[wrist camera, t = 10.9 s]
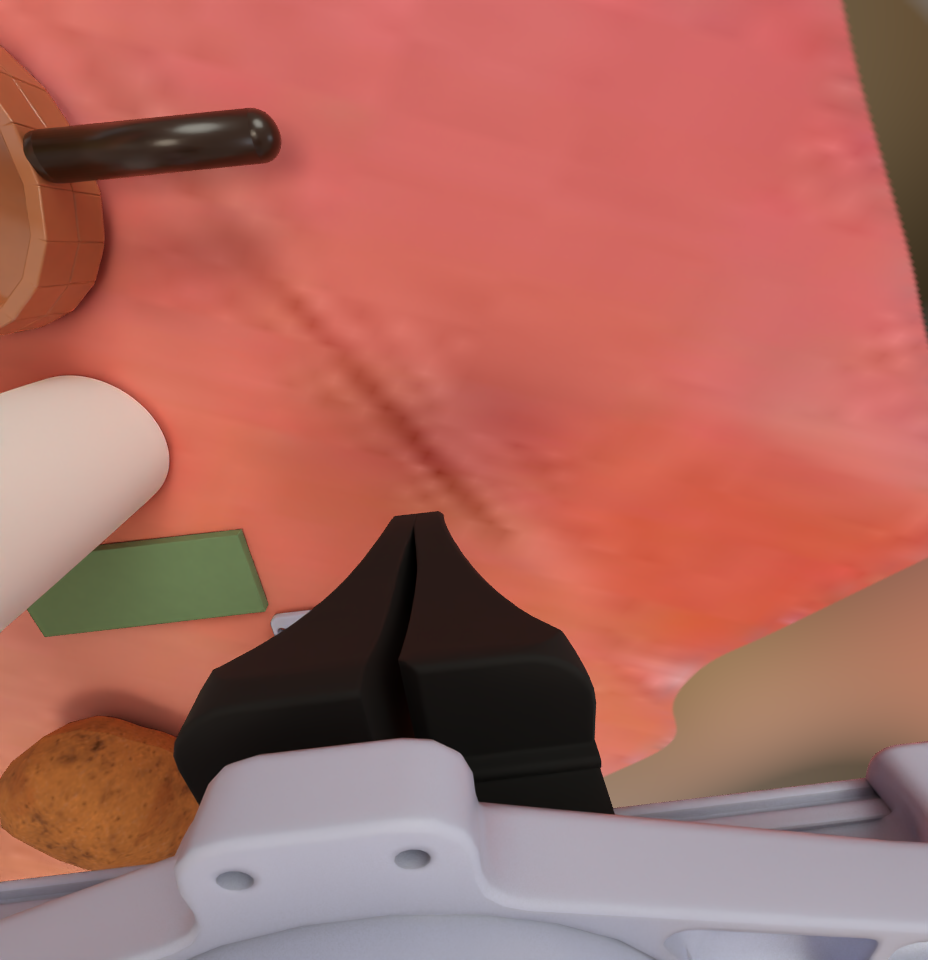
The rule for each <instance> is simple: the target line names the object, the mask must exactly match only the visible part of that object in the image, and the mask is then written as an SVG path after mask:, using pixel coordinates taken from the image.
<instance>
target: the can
mask: <svg viewBox="0 0 928 960" xmlns="http://www.w3.org/2000/svg"><path fill="white" fill-rule="evenodd" d="M168 470H169V451H168V446H167V443H166V440H165V437H164V435H163V433H162V431H161V429H160V427H159V426H158V424H157V422H156V421H155V420H154V418H153V417H152V416H151V415H150V413H149V412H148V411H147V410H146V409H145V408H144V407H143V406H142V405H141V404H140V403H139V402H137V401H136V400H135V399H134V398H132V397H131V396H130V395H128V394H127V393H125V392H123V391H122V390H120V389H118V388H116V387H114V386H112V385H110V384H108V383H105V382H103V381H100V380H96V379H93V378H89V377H83V376H74V375H65V376H56V377H51V378H47V379H44V380H40V381H37V382H34V383H31V384H27V385H24V386H21V387H18V388H15V389H12V390H9V391H6V392H3V393H0V632H1V631H2V630H4V629H5V628H6V627H7V626H8V625H9V624H10V623H12V622H13V621H14V620H15V619H16V618H17V617H18V616H20V615H21V614H22V613H23V612H24V611H25V610H26V609H27V608H29V607H30V606H31V605H32V604H33V603H34V602H35V601H37V600H38V599H39V598H40V597H41V596H42V595H43V594H44V593H46V592H47V591H48V590H49V589H50V588H51V587H52V586H53V585H55V584H56V583H57V582H58V581H59V580H60V579H61V578H62V577H64V576H65V575H66V574H67V573H68V572H69V571H70V570H71V569H73V568H74V567H75V566H76V565H77V564H78V563H79V562H80V561H82V560H83V559H84V558H85V557H86V556H87V555H88V554H89V553H91V552H92V551H93V550H94V549H95V548H96V547H97V546H98V545H99V544H101V543H102V542H103V541H104V540H105V539H106V538H107V537H108V536H110V535H111V534H112V533H113V532H114V531H115V530H116V529H117V528H118V527H120V526H121V525H122V524H123V523H124V522H125V521H126V520H127V519H128V518H130V517H131V516H132V515H133V514H134V513H135V512H136V511H137V510H138V509H139V508H141V507H142V506H143V505H144V504H145V503H146V502H147V501H148V500H149V499H150V498H151V497H152V496H153V495H154V494H156V492H157V491H158V490H159V489H160V488H161V486H162V485H163V483H164V481H165V479H166V477H167V474H168Z"/></svg>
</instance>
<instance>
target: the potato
mask: <svg viewBox="0 0 928 960" xmlns="http://www.w3.org/2000/svg"><path fill="white" fill-rule="evenodd" d="M176 738H177V737H174V736H172V735H170V734H167V733H165V732H162V731H158V730H153V729H149V728H145V727H141V726H138V725H135V724H133V723H130V722H127V721H125V720H122V719H118V718H113V717H109V716H95V717H91V718H87V719H82V720H78V721H74V722H70V723H68V724H66V725H65V726H63V727H61V728H59V729H57V730H55V731H54V732H52V733H50V734H48V735H46V736H44V737H43V738H41V739H40V740H39V741H38V742H36V743H35V744H34V745H33V746H31V747H30V748H29V749H28V750H26V751H25V752H24V753H23V754H21V755H20V756H19V757H18V758H16V759H15V760H14V761H12V762H11V764H10V765H9V766H8V768H7V769H6V771H5V772H4V774H3V775H2V777H1V778H0V821H1V826H2V828H3V829H4V830H6V831H7V832H8V833H9V834H11V835H12V836H13V837H15V838H17V839H19V840H20V841H22V842H24V843H26V844H28V845H30V846H31V847H33V848H35V849H37V850H39V851H41V852H43V853H45V854H47V855H49V856H51V857H53V858H55V859H57V860H60V861H63V862H66V863H69V864H71V865H74V866H77V867H80V868H83V869H87V870H91V871H95V870H104V869H112V868H120V867H129V866H137V865H145V864H153V863H156V862H159V861H162V860H164V859H167V858H170V857H173V856H175V854H176V852H177V850H178V848H179V845H180V843H181V841H182V839H183V837H184V835H185V833H186V832H187V830H188V828H189V826H190V825H191V823H192V822H193V820H194V818H195V815H196V813H197V811H198V808H199V804H198V803H197V801H196V799H195V798H194V796H193V794H192V793H191V791H190V789H189V787H188V786H187V784H186V782H185V781H184V779H183V777H182V775H181V774H180V772H179V770H178V768H177V765H176V762H175V760H174V757H173V753H174V742H175V740H176Z"/></svg>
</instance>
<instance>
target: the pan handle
mask: <svg viewBox="0 0 928 960" xmlns="http://www.w3.org/2000/svg"><path fill="white" fill-rule="evenodd" d="M280 148H281V135H280V132H279V129H278V127H277V125H276V123H275V122H274V120H273V119H272V118H271V117H270V116H269V115H268V114H266V113H265V112H263V111H261V110H259V109H256V108H244V109H234V110H224V111H214V112H204V113H194V114H184V115H174V116H164V117H154V118H144V119H134V120H124V121H114V122H104V123H95V124H85V125H75V126H65V127H55V128H45V129H36V130H32V131H29V132H28V133H26V134H25V135H24V137H23V151H24V154H25V156H26V158H27V160H28V161H29V163H30V164H31V165H32V167H33V168H34V169H35V170H36V172H37V173H38V174H39V175H40V176H41V177H43V178H44V179H45V180H47V181H49V182H53V183H58V184H65V183H75V182H85V181H95V180H105V179H114V178H124V177H134V176H144V175H153V174H163V173H173V172H183V171H193V170H202V169H212V168H222V167H232V166H242V165H251V164H261V163H268V162H270V161H272V160H273V159H275V158H276V157H277V155H278V154H279V151H280Z"/></svg>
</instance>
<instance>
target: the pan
mask: <svg viewBox="0 0 928 960" xmlns="http://www.w3.org/2000/svg"><path fill="white" fill-rule="evenodd" d="M46 91H47V90H46V89H45V88H44V87H43V86H42V85H41V84H40V83H39V82H38V81H37V80H36V79H35V78H34V77H33V76H32V75H31V74H30V73H29V72H28V71H27V70H26V69H25V68H23V67H22V66H21V65H20V64H19V63H18V62H17V61H16V60H15V59H14V58H13V57H12V56H11V55H10V54H9V53H8V52H7V51H6V50H5V49H4V48H3V47H2V46H1V45H0V336H1V335H6V334H11V333H16V332H21V331H26V330H31V329H36V328H39V327H43V326H45V325H47V324H49V323H51V322H53V321H55V320H57V319H59V318H60V317H62V316H64V315H66V314H68V313H70V312H72V310H74V309H75V308H76V307H77V305H78V304H79V303H80V302H81V300H82V299H83V298H84V296H85V295H86V294H87V293H88V291H89V290H90V289H91V287H92V286H93V285H94V283H95V280H96V277H97V273H98V269H99V266H100V262H101V258H102V254H103V250H104V246H105V244H104V243H103V242H105V234H104V222H103V211H102V200H101V197H100V195H101V193H100V190H99V187H98V185H97V182H96V180H95V181H85V182H75V183H65V184H58V183H53V182H49V181H47V180H45V179H44V178H43V177H41V176H40V175H39V174H38V173H37V172H36V170H35V169H34V168H33V167H32V165H31V164H30V163H29V161H28V160H27V158H26V156H25V154H24V151H23V137H24V135H25V134H26V133H28V132H29V131H32V130H36V129H45V128H55V127H65V126H70V125H69V123H68V122H67V120H66V119H65V117H64V116H63V114H62V113H61V111H60V110H59V108H58V107H57V105H56V104H55V102H54V101H53V99H52V98H51V96H50V95H49V93H48V92H46Z"/></svg>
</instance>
